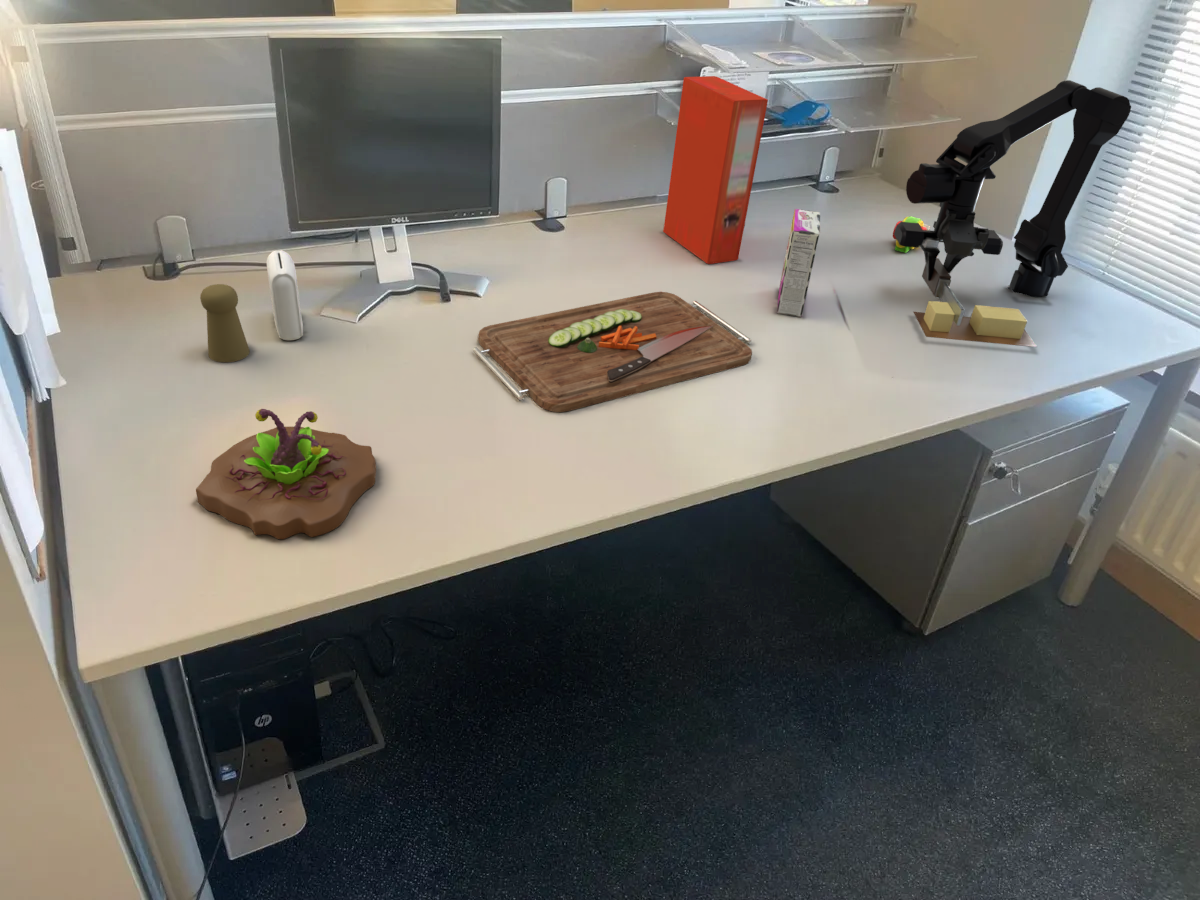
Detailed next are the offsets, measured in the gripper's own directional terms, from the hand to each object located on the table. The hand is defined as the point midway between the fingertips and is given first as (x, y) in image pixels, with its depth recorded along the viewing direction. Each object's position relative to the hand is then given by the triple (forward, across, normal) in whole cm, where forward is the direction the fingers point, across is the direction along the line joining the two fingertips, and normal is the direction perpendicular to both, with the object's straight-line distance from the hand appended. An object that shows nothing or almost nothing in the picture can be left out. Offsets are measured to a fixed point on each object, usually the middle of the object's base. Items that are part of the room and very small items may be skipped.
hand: (934, 280), depth 173 cm
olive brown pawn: (+5, -120, -43) cm, 128 cm away
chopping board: (+5, -60, -30) cm, 67 cm away
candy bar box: (+5, -28, -6) cm, 29 cm away
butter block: (+4, +9, -12) cm, 16 cm away
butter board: (+5, +5, -12) cm, 14 cm away
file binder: (+5, -44, +18) cm, 48 cm away
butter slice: (+3, -2, -12) cm, 13 cm away
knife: (+1, 0, -6) cm, 6 cm away
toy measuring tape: (+5, +4, +32) cm, 32 cm away
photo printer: (+5, -114, -33) cm, 119 cm away
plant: (+5, -100, -74) cm, 125 cm away
